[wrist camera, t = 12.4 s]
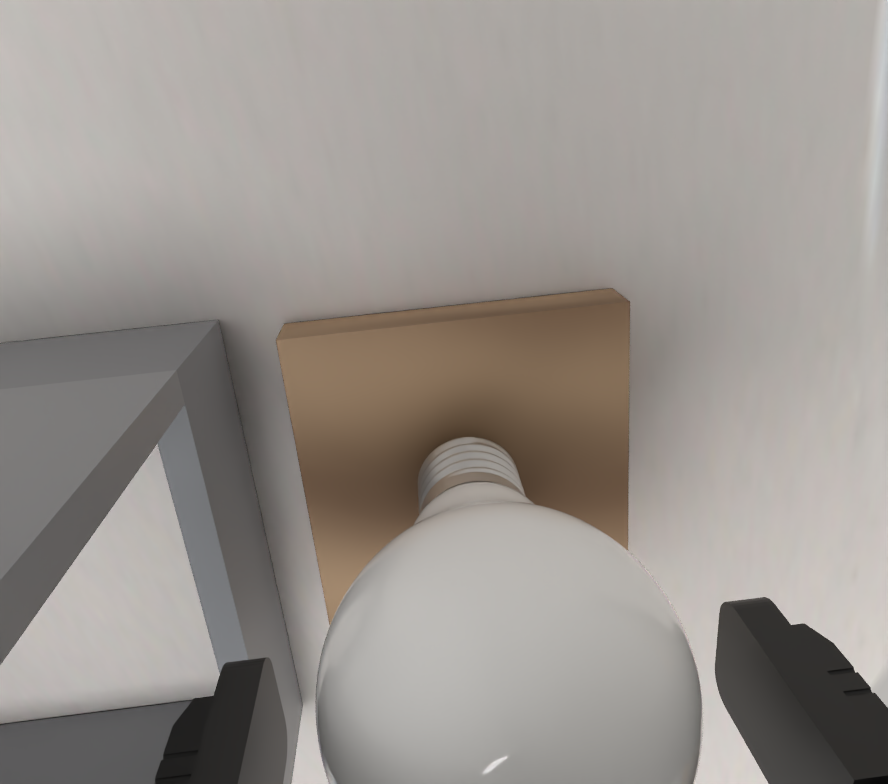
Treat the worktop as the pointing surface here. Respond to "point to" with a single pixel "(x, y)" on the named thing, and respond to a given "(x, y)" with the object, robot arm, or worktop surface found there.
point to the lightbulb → (504, 648)
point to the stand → (456, 412)
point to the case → (93, 495)
